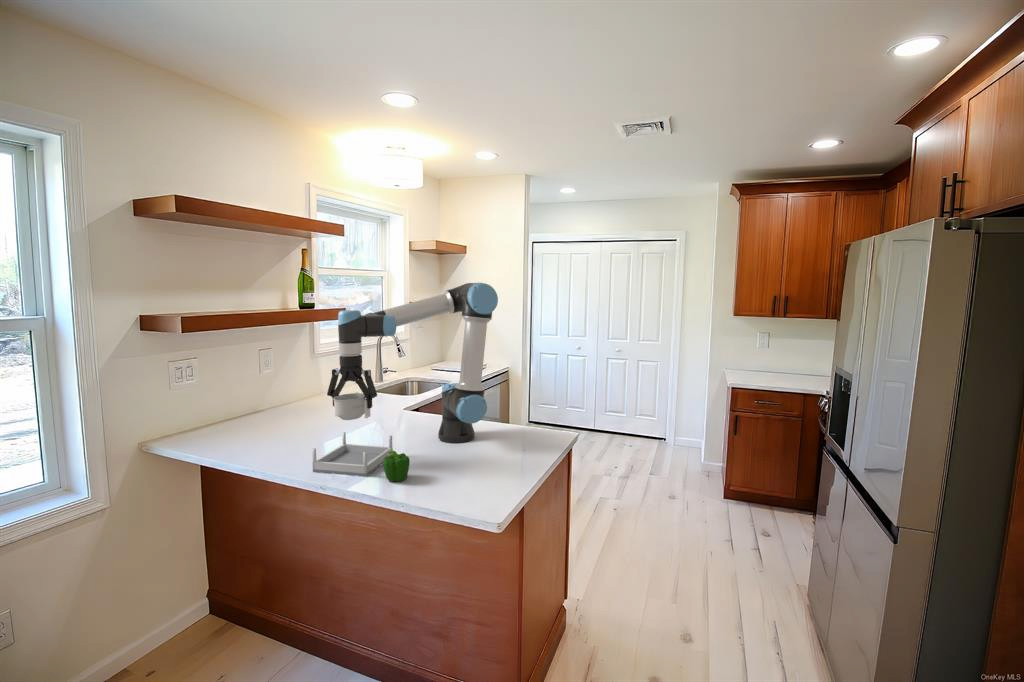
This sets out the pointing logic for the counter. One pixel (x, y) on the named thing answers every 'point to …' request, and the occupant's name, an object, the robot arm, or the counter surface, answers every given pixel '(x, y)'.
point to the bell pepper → (396, 466)
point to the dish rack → (351, 458)
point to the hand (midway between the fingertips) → (352, 416)
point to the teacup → (349, 406)
